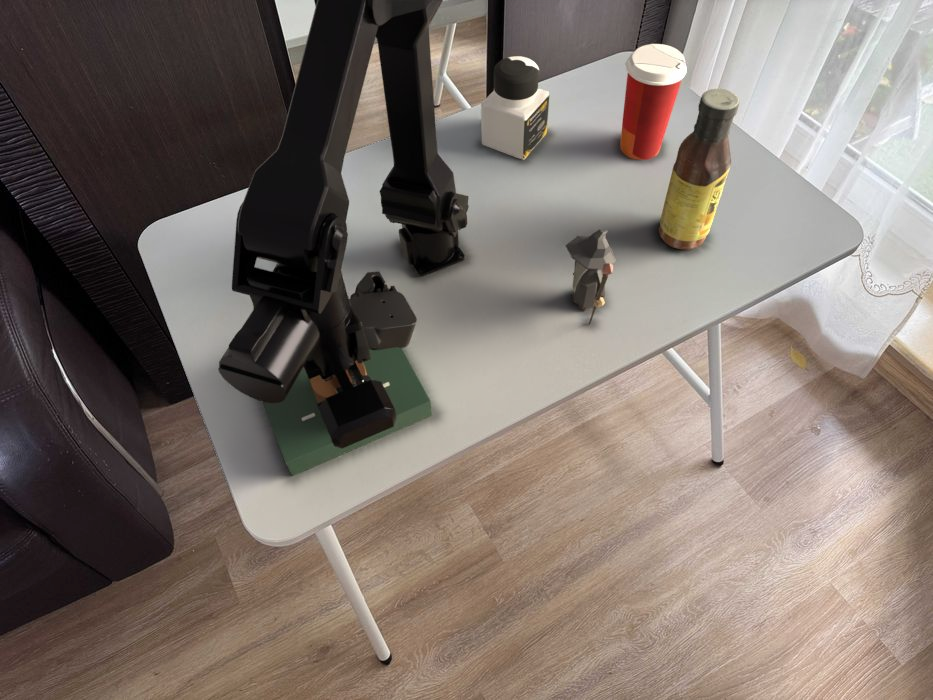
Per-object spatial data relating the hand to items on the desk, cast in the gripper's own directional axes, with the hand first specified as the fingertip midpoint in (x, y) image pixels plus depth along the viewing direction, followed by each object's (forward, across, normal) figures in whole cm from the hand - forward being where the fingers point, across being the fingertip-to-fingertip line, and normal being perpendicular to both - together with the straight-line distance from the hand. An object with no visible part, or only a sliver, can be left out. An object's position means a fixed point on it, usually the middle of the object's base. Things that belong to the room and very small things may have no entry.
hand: (345, 402), depth 75 cm
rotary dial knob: (0, 0, 0) cm, 0 cm away
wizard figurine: (+3, +1, -31) cm, 31 cm away
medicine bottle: (+3, +33, -38) cm, 51 cm away
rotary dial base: (+3, +4, 0) cm, 5 cm away
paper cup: (+3, +23, -53) cm, 58 cm away
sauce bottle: (+3, +6, -48) cm, 49 cm away
